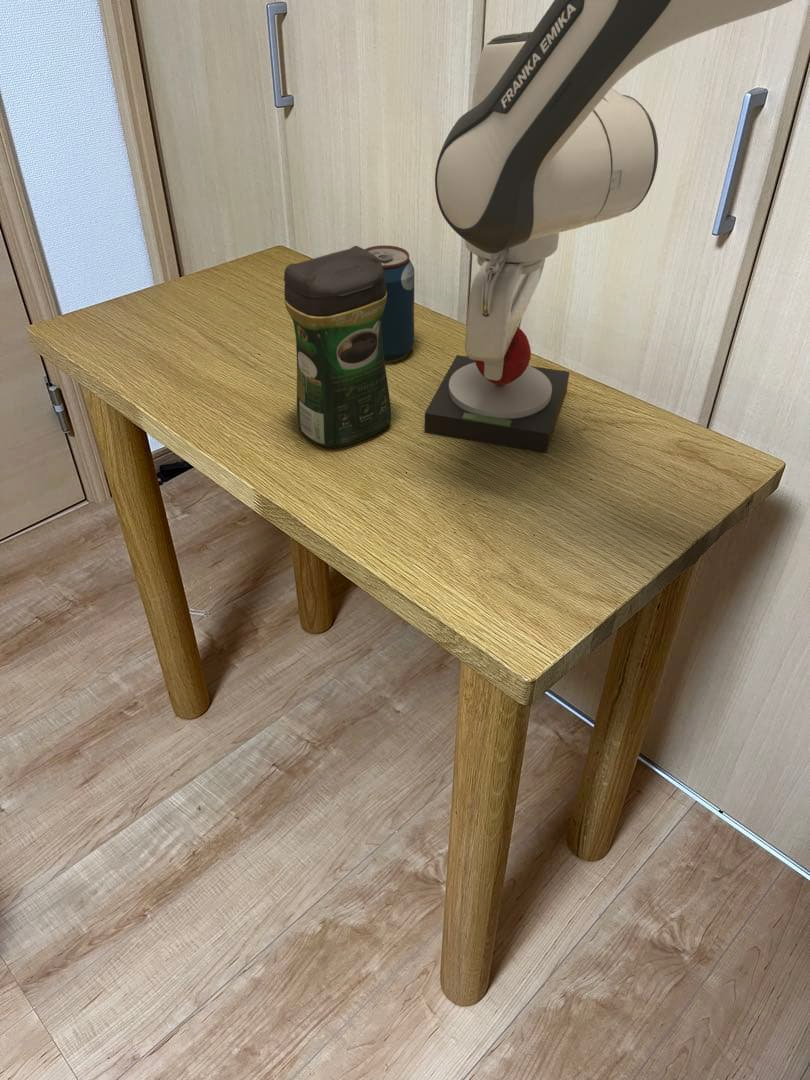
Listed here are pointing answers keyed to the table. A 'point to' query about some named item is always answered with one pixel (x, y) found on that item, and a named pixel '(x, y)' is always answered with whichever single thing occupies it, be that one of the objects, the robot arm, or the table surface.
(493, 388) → the scale
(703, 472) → the table surface
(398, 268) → the soda can
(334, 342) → the coffee jar
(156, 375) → the table surface
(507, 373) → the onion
